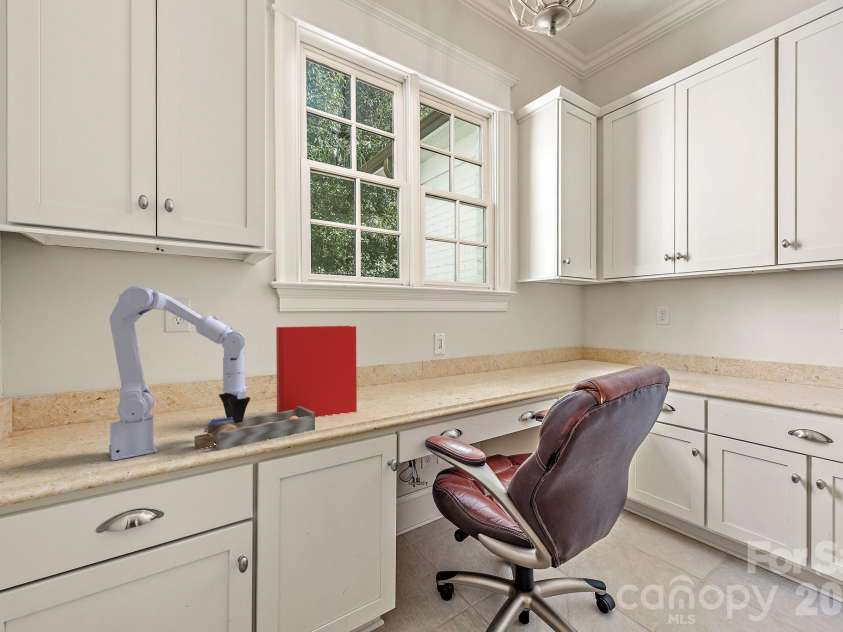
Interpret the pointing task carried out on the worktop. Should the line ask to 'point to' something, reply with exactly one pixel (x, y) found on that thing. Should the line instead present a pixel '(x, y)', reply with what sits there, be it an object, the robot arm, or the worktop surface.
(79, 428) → the worktop surface
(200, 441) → the brown wooden crate
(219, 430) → the lane
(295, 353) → the book
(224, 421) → the hard drive
